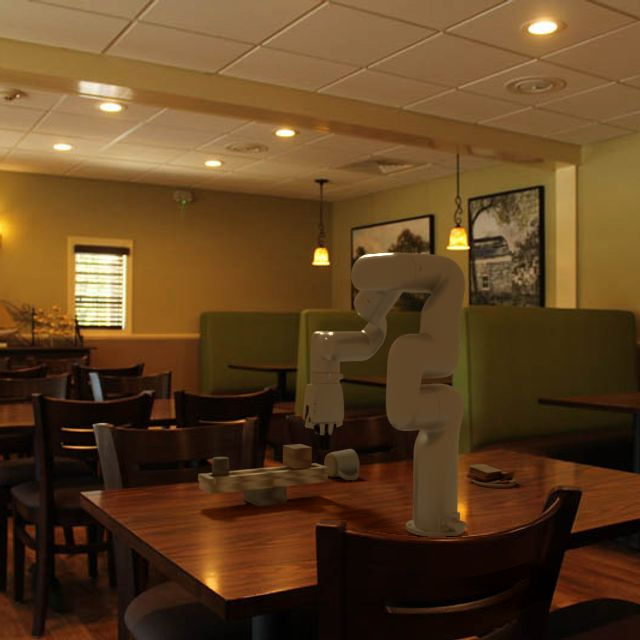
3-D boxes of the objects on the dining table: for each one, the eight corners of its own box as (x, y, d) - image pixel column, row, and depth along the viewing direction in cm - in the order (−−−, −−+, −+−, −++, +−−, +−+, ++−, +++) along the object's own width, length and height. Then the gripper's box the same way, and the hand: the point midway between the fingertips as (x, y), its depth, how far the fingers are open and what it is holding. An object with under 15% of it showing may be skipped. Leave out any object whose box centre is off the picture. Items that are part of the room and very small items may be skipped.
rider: (299, 470, 209) (300, 444, 209) (311, 474, 204) (311, 447, 204) (282, 472, 207) (283, 445, 207) (294, 476, 202) (294, 448, 202)
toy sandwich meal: (494, 491, 217) (494, 473, 217) (459, 482, 229) (459, 465, 229) (526, 486, 224) (527, 469, 224) (491, 477, 236) (491, 461, 236)
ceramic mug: (322, 475, 235) (322, 449, 235) (345, 472, 239) (346, 447, 239) (342, 482, 226) (342, 455, 226) (366, 479, 230) (366, 453, 230)
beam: (313, 491, 213) (314, 447, 213) (329, 497, 206) (330, 452, 206) (197, 505, 196) (197, 457, 196) (210, 512, 189) (210, 462, 189)
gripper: (341, 376, 217) (340, 445, 217) (292, 378, 209) (291, 449, 209) (357, 379, 210) (355, 450, 210) (306, 381, 203) (305, 454, 203)
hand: (323, 449), depth 210 cm, fingers closed
